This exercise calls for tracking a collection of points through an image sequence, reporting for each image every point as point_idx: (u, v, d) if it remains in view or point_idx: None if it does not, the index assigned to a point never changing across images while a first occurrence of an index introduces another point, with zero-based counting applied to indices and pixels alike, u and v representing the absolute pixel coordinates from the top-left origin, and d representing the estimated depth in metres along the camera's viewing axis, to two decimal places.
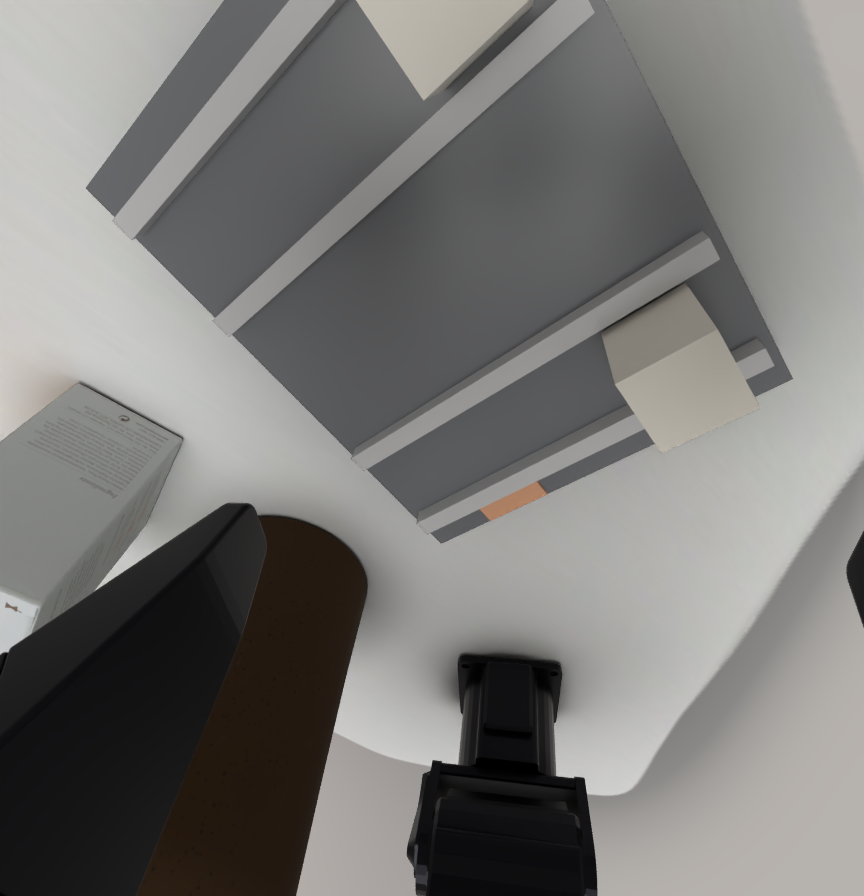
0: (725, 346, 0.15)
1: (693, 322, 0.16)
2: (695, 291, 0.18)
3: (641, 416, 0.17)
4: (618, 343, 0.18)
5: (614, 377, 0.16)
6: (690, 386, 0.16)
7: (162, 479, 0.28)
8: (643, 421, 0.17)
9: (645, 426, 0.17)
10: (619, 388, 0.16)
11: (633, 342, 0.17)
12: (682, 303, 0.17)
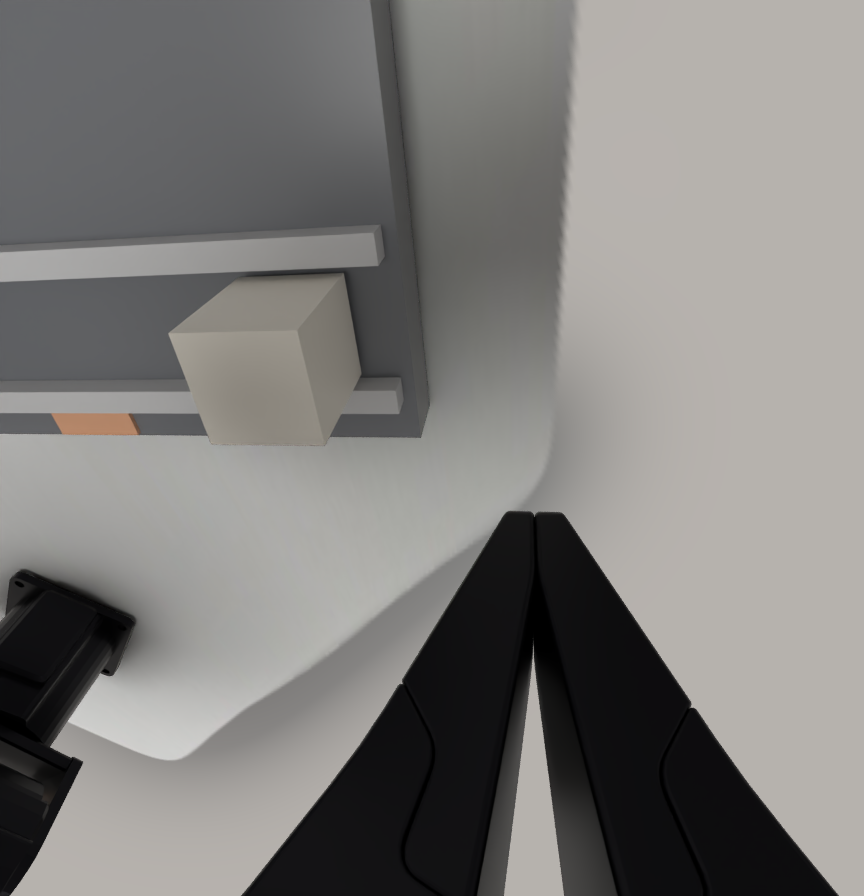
0: (301, 355, 0.12)
1: (295, 312, 0.12)
2: (355, 291, 0.15)
3: (194, 389, 0.13)
4: (230, 295, 0.14)
5: (178, 326, 0.12)
6: (255, 382, 0.13)
7: None
8: (195, 396, 0.13)
9: (197, 403, 0.13)
10: (173, 341, 0.12)
11: (239, 302, 0.13)
12: (315, 290, 0.14)
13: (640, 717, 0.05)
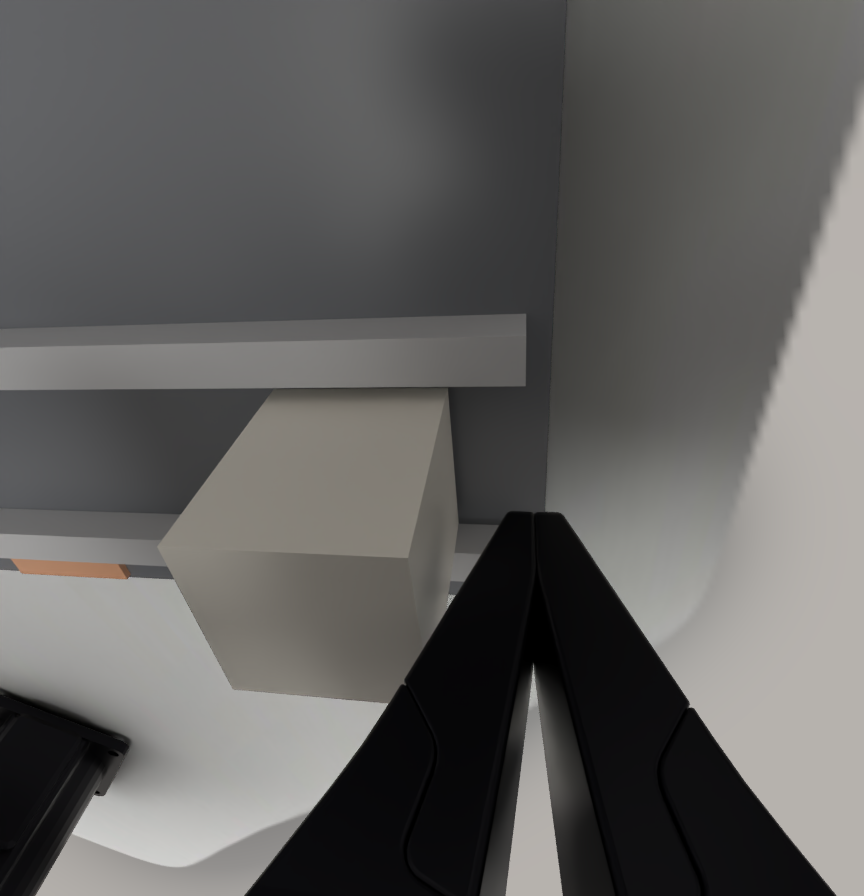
0: (410, 594, 0.06)
1: (390, 495, 0.07)
2: (468, 410, 0.09)
3: (205, 623, 0.07)
4: (265, 437, 0.08)
5: (177, 523, 0.07)
6: (317, 622, 0.07)
7: None
8: (207, 632, 0.07)
9: (210, 641, 0.07)
10: (166, 557, 0.07)
11: (283, 456, 0.08)
12: (411, 430, 0.08)
13: (638, 717, 0.05)
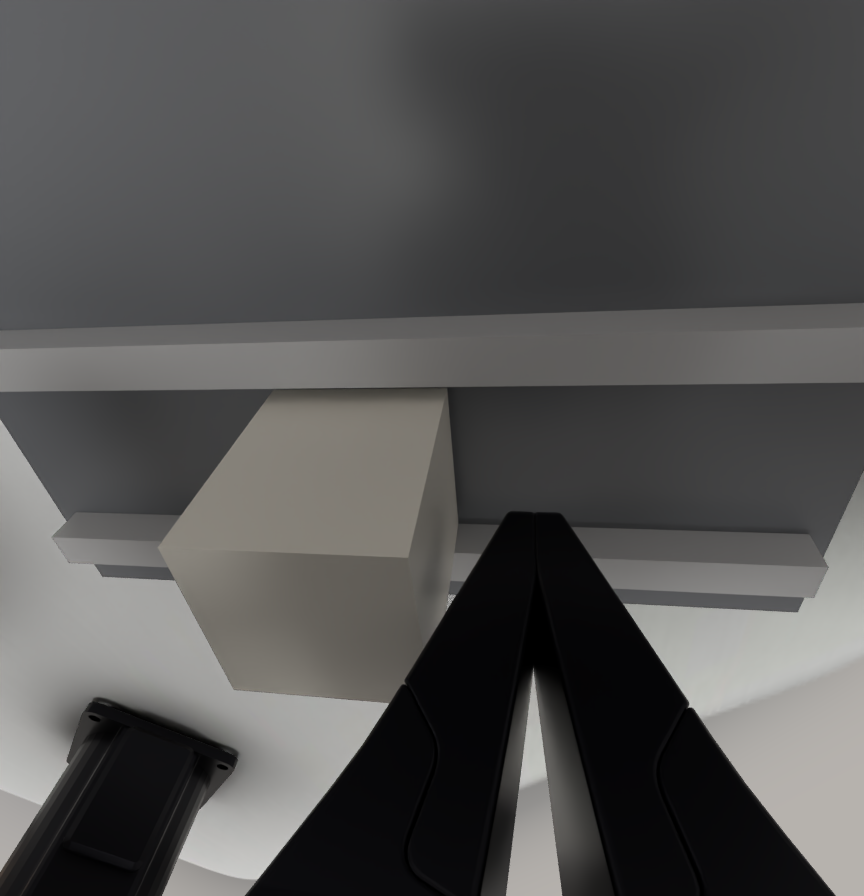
0: (410, 594, 0.06)
1: (390, 495, 0.07)
2: (794, 409, 0.09)
3: (206, 623, 0.07)
4: (265, 437, 0.08)
5: (177, 524, 0.07)
6: (317, 622, 0.07)
7: None
8: (208, 633, 0.07)
9: (210, 641, 0.07)
10: (167, 558, 0.07)
11: (283, 456, 0.08)
12: (411, 431, 0.08)
13: (638, 717, 0.05)
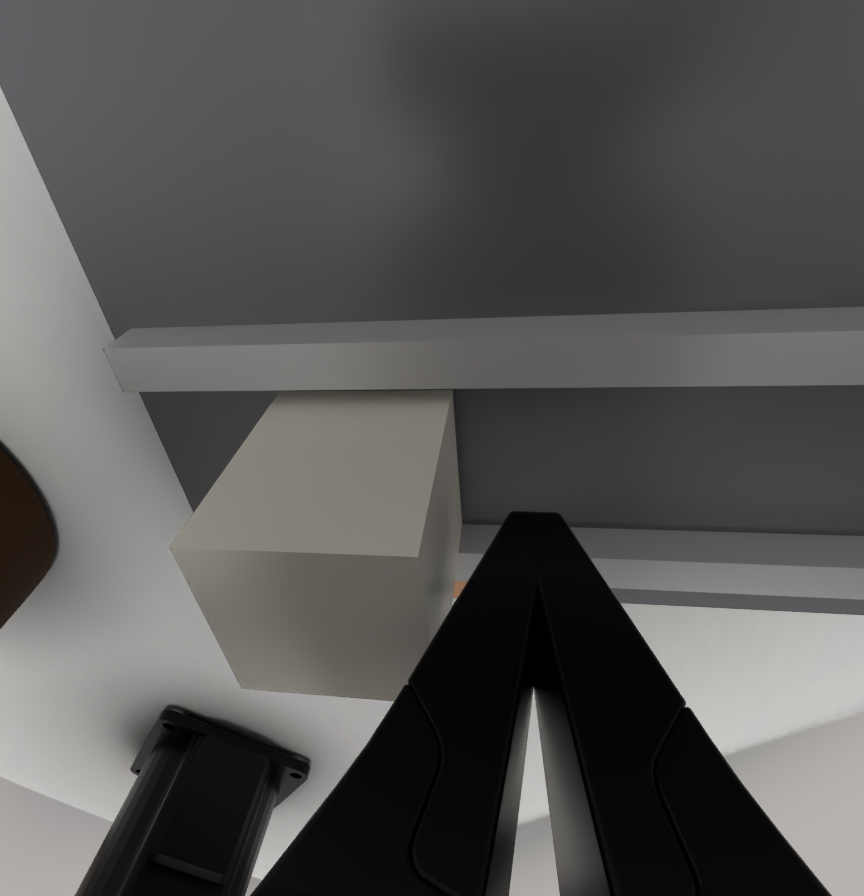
0: (419, 593, 0.06)
1: (398, 495, 0.07)
2: None
3: (216, 622, 0.07)
4: (273, 439, 0.08)
5: (188, 524, 0.07)
6: (327, 621, 0.07)
7: None
8: (217, 632, 0.07)
9: (220, 641, 0.08)
10: (178, 558, 0.07)
11: (291, 457, 0.08)
12: (417, 432, 0.08)
13: (635, 717, 0.05)
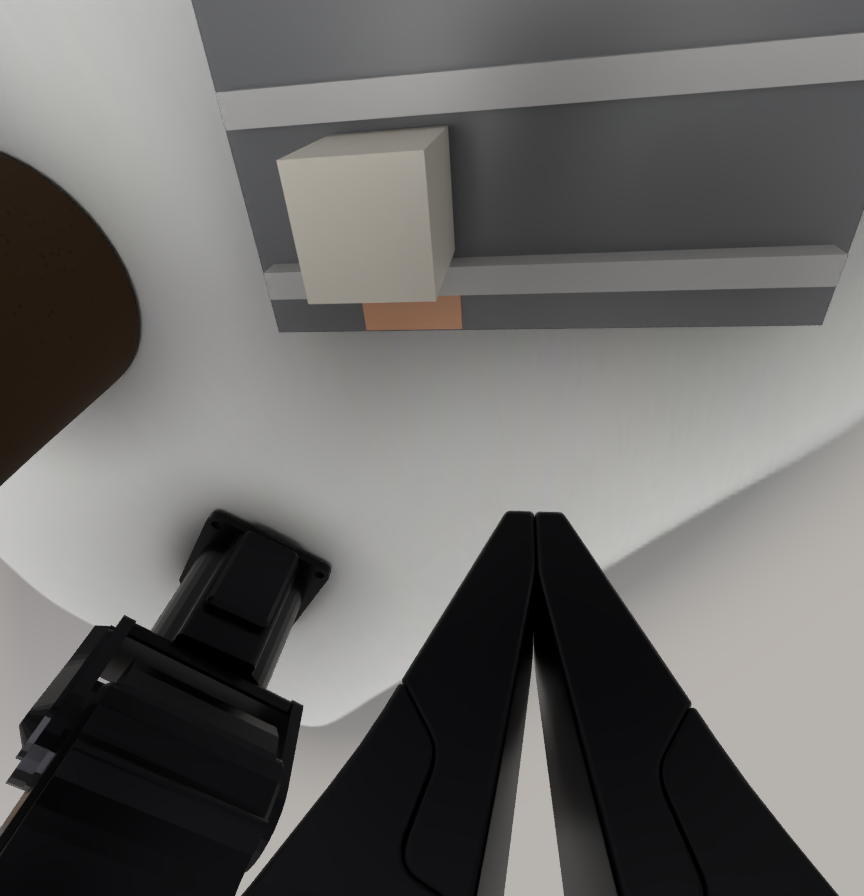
0: (424, 183, 0.11)
1: (412, 143, 0.11)
2: (828, 125, 0.13)
3: (297, 233, 0.12)
4: (330, 141, 0.13)
5: (285, 156, 0.11)
6: (368, 221, 0.11)
7: None
8: (298, 242, 0.12)
9: (298, 251, 0.12)
10: (280, 170, 0.11)
11: (343, 143, 0.12)
12: (424, 133, 0.12)
13: (640, 717, 0.05)
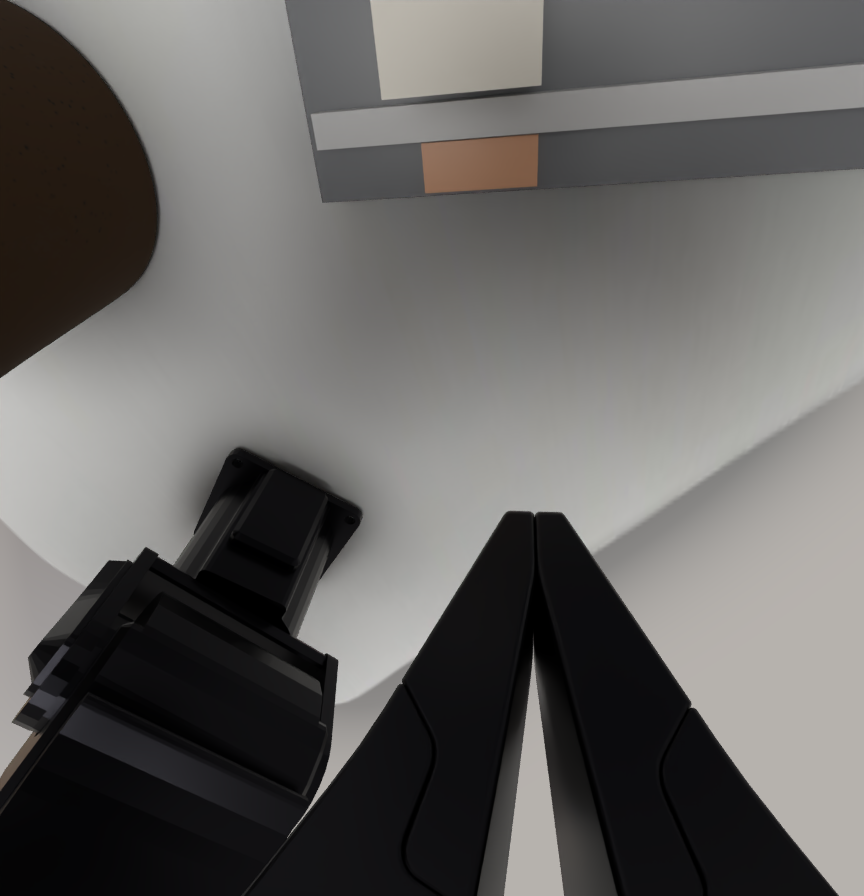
0: None
1: None
2: None
3: None
4: None
5: None
6: None
7: None
8: (375, 6, 0.10)
9: (375, 20, 0.10)
10: None
11: None
12: None
13: (640, 717, 0.05)
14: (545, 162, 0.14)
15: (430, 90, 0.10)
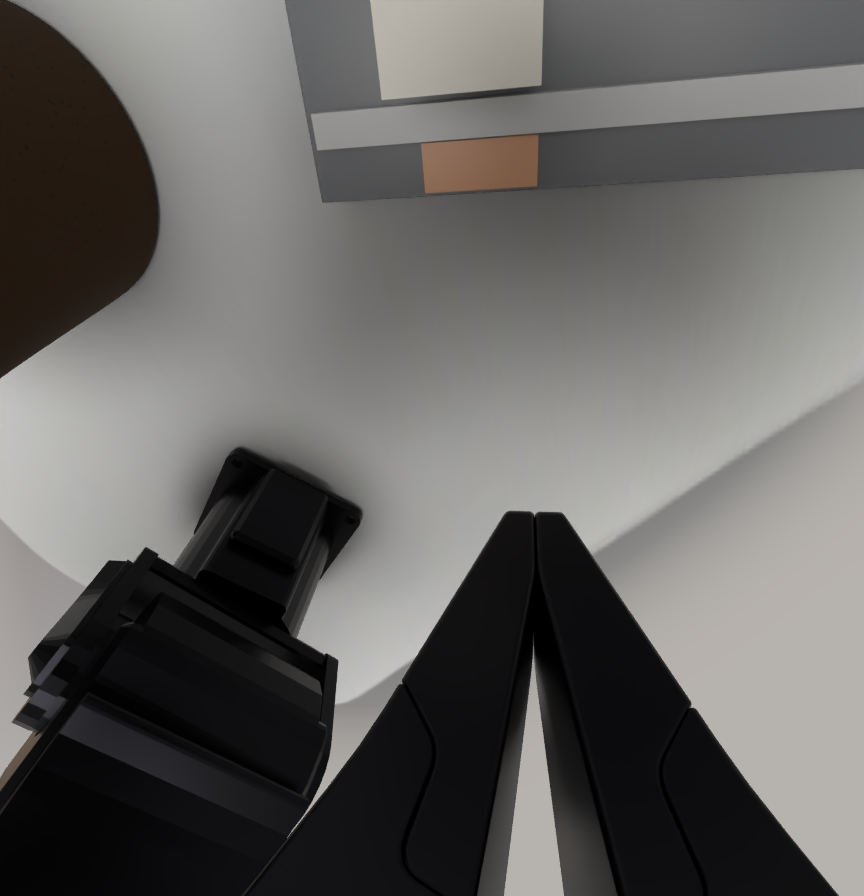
0: None
1: None
2: None
3: None
4: None
5: None
6: None
7: None
8: (375, 6, 0.10)
9: (375, 20, 0.10)
10: None
11: None
12: None
13: (640, 717, 0.05)
14: (545, 162, 0.14)
15: (430, 90, 0.10)
